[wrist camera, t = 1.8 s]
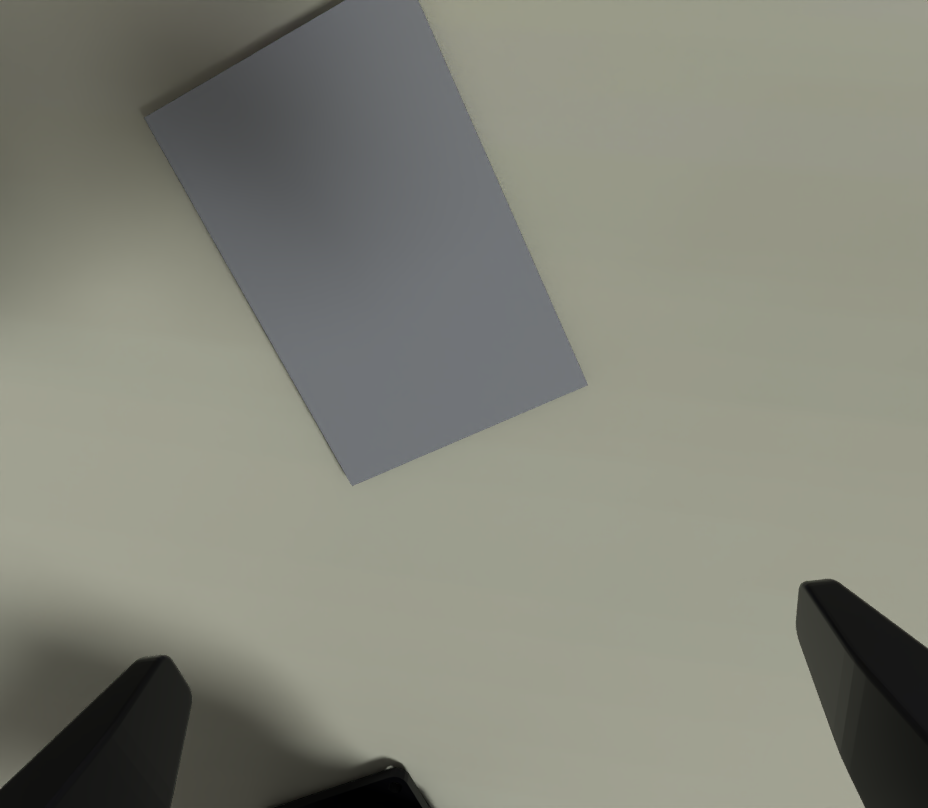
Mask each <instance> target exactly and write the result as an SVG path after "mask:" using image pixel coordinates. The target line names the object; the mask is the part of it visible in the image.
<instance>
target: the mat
mask: <svg viewBox="0 0 928 808" xmlns="http://www.w3.org/2000/svg"><path fill="white" fill-rule="evenodd" d="M144 119H145V120H146V122H147V124H148V126H149V128H150V129H151V131H152V133H153V135H154V136H155V138H156V140H157V142H158V143H159V145H160V147H161V149H162V151H163V152H164V154H165V156H166V158H167V159H168V161H169V163H170V165H171V166H172V168H173V170H174V172H175V174H176V175H177V177H178V179H179V181H180V182H181V184H182V186H183V188H184V189H185V191H186V193H187V195H188V197H189V198H190V200H191V202H192V204H193V205H194V207H195V209H196V211H197V212H198V214H199V216H200V218H201V220H202V221H203V223H204V225H205V227H206V228H207V230H208V232H209V234H210V235H211V237H212V239H213V241H214V243H215V244H216V246H217V248H218V250H219V251H220V253H221V255H222V257H223V258H224V260H225V262H226V264H227V266H228V267H229V269H230V271H231V273H232V274H233V276H234V278H235V280H236V281H237V283H238V285H239V287H240V289H241V290H242V292H243V294H244V296H245V297H246V299H247V301H248V303H249V304H250V306H251V308H252V310H253V312H254V313H255V315H256V317H257V319H258V320H259V322H260V324H261V326H262V327H263V329H264V331H265V333H266V335H267V336H268V338H269V340H270V342H271V343H272V345H273V347H274V349H275V350H276V352H277V354H278V356H279V357H280V359H281V361H282V363H283V365H284V366H285V368H286V370H287V372H288V373H289V375H290V377H291V379H292V380H293V382H294V384H295V386H296V388H297V389H298V391H299V393H300V395H301V396H302V398H303V400H304V402H305V403H306V405H307V407H308V409H309V411H310V412H311V414H312V416H313V418H314V419H315V421H316V423H317V425H318V426H319V428H320V430H321V432H322V434H323V435H324V437H325V439H326V441H327V442H328V444H329V446H330V448H331V449H332V451H333V453H334V455H335V457H336V458H337V460H338V462H339V464H340V465H341V467H342V469H343V471H344V472H345V474H346V476H347V478H348V480H349V481H350V483H351V485H352V486H353V485H356V484H358V483H360V482H363V481H365V480H367V479H370V478H372V477H374V476H377V475H379V474H381V473H384V472H386V471H388V470H391V469H393V468H395V467H398V466H400V465H402V464H405V463H407V462H409V461H412V460H414V459H416V458H419V457H421V456H423V455H426V454H428V453H430V452H433V451H435V450H437V449H440V448H442V447H444V446H447V445H449V444H451V443H454V442H456V441H458V440H461V439H463V438H465V437H468V436H470V435H472V434H475V433H477V432H479V431H482V430H484V429H486V428H489V427H491V426H493V425H496V424H498V423H500V422H503V421H505V420H507V419H510V418H512V417H514V416H517V415H519V414H521V413H524V412H526V411H528V410H531V409H533V408H535V407H538V406H540V405H542V404H545V403H547V402H549V401H552V400H554V399H556V398H559V397H561V396H563V395H566V394H568V393H570V392H573V391H575V390H577V389H580V388H582V387H584V386H587V385H588V384H587V382H586V380H585V377H584V375H583V373H582V370H581V368H580V366H579V364H578V361H577V359H576V357H575V355H574V352H573V350H572V348H571V346H570V343H569V341H568V339H567V336H566V334H565V332H564V330H563V327H562V325H561V323H560V321H559V318H558V316H557V314H556V312H555V309H554V307H553V305H552V302H551V300H550V298H549V296H548V293H547V291H546V289H545V287H544V284H543V282H542V280H541V278H540V275H539V273H538V271H537V268H536V266H535V264H534V262H533V259H532V257H531V255H530V253H529V250H528V248H527V246H526V244H525V241H524V239H523V237H522V234H521V232H520V230H519V228H518V225H517V223H516V221H515V219H514V216H513V214H512V212H511V210H510V207H509V205H508V203H507V200H506V198H505V196H504V194H503V191H502V189H501V187H500V185H499V182H498V180H497V178H496V176H495V173H494V171H493V169H492V166H491V164H490V162H489V160H488V157H487V155H486V153H485V151H484V148H483V146H482V144H481V142H480V139H479V137H478V135H477V132H476V130H475V128H474V126H473V123H472V121H471V119H470V117H469V114H468V112H467V110H466V108H465V105H464V103H463V101H462V98H461V96H460V94H459V92H458V89H457V87H456V85H455V83H454V80H453V78H452V76H451V74H450V71H449V69H448V67H447V64H446V62H445V60H444V58H443V55H442V53H441V51H440V49H439V46H438V44H437V42H436V40H435V37H434V35H433V33H432V30H431V28H430V26H429V24H428V21H427V19H426V17H425V15H424V12H423V10H422V8H421V6H420V3H419V1H418V0H345V1H343V2H341V3H340V4H338V5H336V6H335V7H333V8H331V9H329V10H328V11H326V12H324V13H323V14H321V15H319V16H317V17H316V18H314V19H312V20H311V21H309V22H307V23H305V24H304V25H302V26H300V27H299V28H297V29H295V30H293V31H292V32H290V33H288V34H287V35H285V36H283V37H281V38H280V39H278V40H276V41H275V42H273V43H271V44H269V45H268V46H266V47H264V48H263V49H261V50H259V51H257V52H256V53H254V54H252V55H251V56H249V57H247V58H245V59H244V60H242V61H240V62H239V63H237V64H235V65H233V66H232V67H230V68H228V69H227V70H225V71H223V72H221V73H220V74H218V75H216V76H215V77H213V78H211V79H209V80H208V81H206V82H204V83H203V84H201V85H199V86H197V87H196V88H194V89H192V90H191V91H189V92H187V93H185V94H184V95H182V96H180V97H179V98H177V99H175V100H173V101H172V102H170V103H168V104H167V105H165V106H163V107H161V108H160V109H158V110H156V111H154V112H153V113H151V114H149V115H148V116H146V117H144Z"/></svg>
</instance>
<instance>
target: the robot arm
mask: <svg viewBox="0 0 928 808" xmlns="http://www.w3.org/2000/svg"><path fill="white" fill-rule="evenodd" d="M796 630H797V635H798V639H799V642H800V645H801V648H802V651H803V654H804V656H805V659H806V662H807V665H808V668H809V670H810V673H811V676H812V679H813V682H814V684H815V687H816V690H817V693H818V695H819V698H820V701H821V704H822V707H823V709H824V712H825V715H826V718H827V721H828V723H829V726H830V729H831V732H832V734H833V737H834V740H835V742H836V745H837V748H838V750H839V753H840V755H841V758H842V760H843V762H844V764H845V766H846V769H847V771H848V773H849V775H850V777H851V779H852V781H853V783H854V785H855V788H856V790H857V792H858V794H859V796H860V798H861V800H862V802H863V804H864V806H865V808H928V648H927V647H925V646H924V645H923V644H921V643H920V642H919V641H917V640H916V639H915V638H913V637H912V636H911V635H909V634H908V633H907V632H905V631H904V630H903V629H901V628H900V627H898V626H897V625H896V624H894V623H893V622H892V621H890V620H889V619H888V618H886V617H885V616H884V615H882V614H881V613H880V612H878V611H877V610H876V609H874V608H873V607H872V606H870V605H869V604H868V603H866V602H865V601H864V600H862V599H861V598H859V597H858V596H857V595H855V594H854V593H853V592H851V591H850V590H849V589H847V588H846V587H845V586H843V585H842V584H841V583H839V582H838V581H835V580H833V579H822V580H813V581H805V582H803V583H802V584H801V585H800V587H799V592H798V603H797V615H796ZM191 704H192V695H191V690H190V687H189V685H188V684H187V682H186V681H185V679H184V678H183V676H182V674H181V673H180V671H179V670H178V668H177V667H176V665H175V663H174V662H173V660H172V659H171V658H170V657H168V656H166V655H157V656H149V657H143V658H140V659H138V660H136V661H135V662H134V663H133V664H132V665H131V666H130V667H129V668H128V669H127V670H125V671H124V672H123V673H122V674H121V675H120V676H119V677H118V678H117V679H116V680H115V681H114V682H113V683H112V684H111V685H110V686H109V687H108V688H106V689H105V690H104V691H103V692H102V693H101V694H100V695H99V696H98V697H97V698H96V699H95V700H94V701H93V702H92V703H91V704H90V705H89V706H87V707H86V708H85V709H84V710H83V711H82V712H81V713H80V714H79V715H78V716H77V717H76V718H75V719H74V720H73V721H72V722H71V723H70V724H68V725H67V726H66V727H65V728H64V729H63V730H62V731H61V732H60V733H59V734H58V735H57V736H56V737H55V738H54V739H53V740H52V741H51V742H49V743H48V744H47V745H46V746H45V747H44V748H43V749H42V750H41V751H40V752H39V753H38V754H37V755H36V756H35V757H34V758H33V759H32V760H31V761H29V762H28V763H27V764H26V765H25V766H24V767H23V768H22V769H21V770H20V771H19V772H18V773H17V774H16V775H15V776H14V777H13V778H12V779H10V780H9V781H8V782H7V783H6V784H5V785H4V786H3V787H2V788H1V789H0V808H170V806H171V802H172V798H173V794H174V789H175V784H176V779H177V774H178V769H179V764H180V759H181V754H182V749H183V744H184V740H185V735H186V730H187V725H188V720H189V715H190V710H191ZM393 782H397V783H399V784H396V783H393ZM274 808H429V806H428V805H427V803H426V801H425V800H424V798H423V797H422V795H421V793H420V792H419V790H418V788H417V787H416V785H415V784H414V782H413V780H412V779H411V777H410V776H409V774H408V773H407V772H406V771H405V770H403V769H400V768H391V769H388V770H385V771H382V772H379V773H376V774H373V775H370V776H367V777H364V778H361V779H358V780H355V781H352V782H349V783H346V784H343V785H340V786H337V787H334V788H331V789H328V790H325V791H322V792H319V793H316V794H313V795H310V796H307V797H304V798H301V799H298V800H295V801H292V802H289V803H286V804H283V805H280V806H277V807H274Z"/></svg>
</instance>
